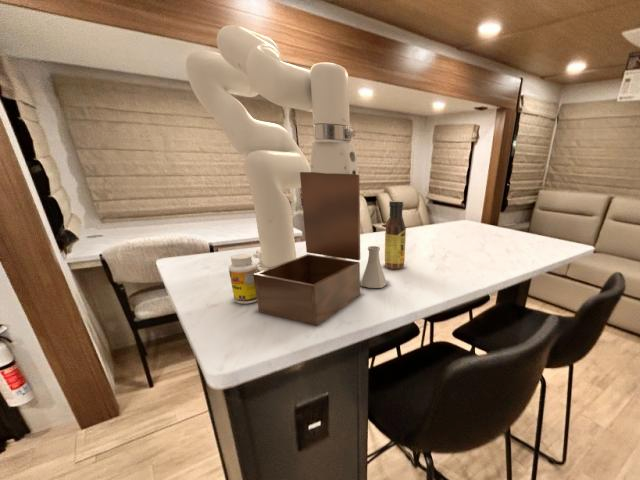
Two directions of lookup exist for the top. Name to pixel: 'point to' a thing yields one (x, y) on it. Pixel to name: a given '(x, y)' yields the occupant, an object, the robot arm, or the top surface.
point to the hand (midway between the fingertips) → (336, 223)
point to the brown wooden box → (307, 288)
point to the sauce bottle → (395, 237)
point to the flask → (373, 270)
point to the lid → (331, 214)
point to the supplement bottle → (243, 278)
